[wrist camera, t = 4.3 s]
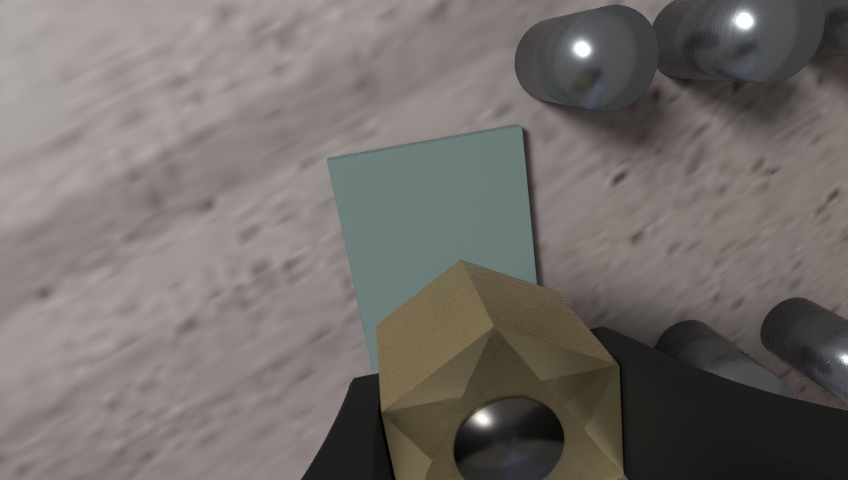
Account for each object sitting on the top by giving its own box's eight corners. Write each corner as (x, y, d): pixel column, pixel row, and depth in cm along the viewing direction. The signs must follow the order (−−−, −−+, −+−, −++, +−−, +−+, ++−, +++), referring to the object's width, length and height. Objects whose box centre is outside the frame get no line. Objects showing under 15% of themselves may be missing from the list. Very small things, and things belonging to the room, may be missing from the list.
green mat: (538, 339, 23) (542, 345, 22) (374, 373, 22) (374, 380, 22) (517, 124, 20) (522, 125, 19) (327, 158, 19) (327, 160, 19)
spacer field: (816, 347, 25) (913, 405, 20) (547, 406, 24) (590, 480, 20) (852, -31, 20) (991, -57, 15) (510, 25, 19) (558, 14, 14)
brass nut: (566, 421, 15) (626, 526, 12) (402, 455, 15) (414, 572, 11) (552, 242, 13) (618, 304, 10) (366, 276, 13) (367, 352, 10)
